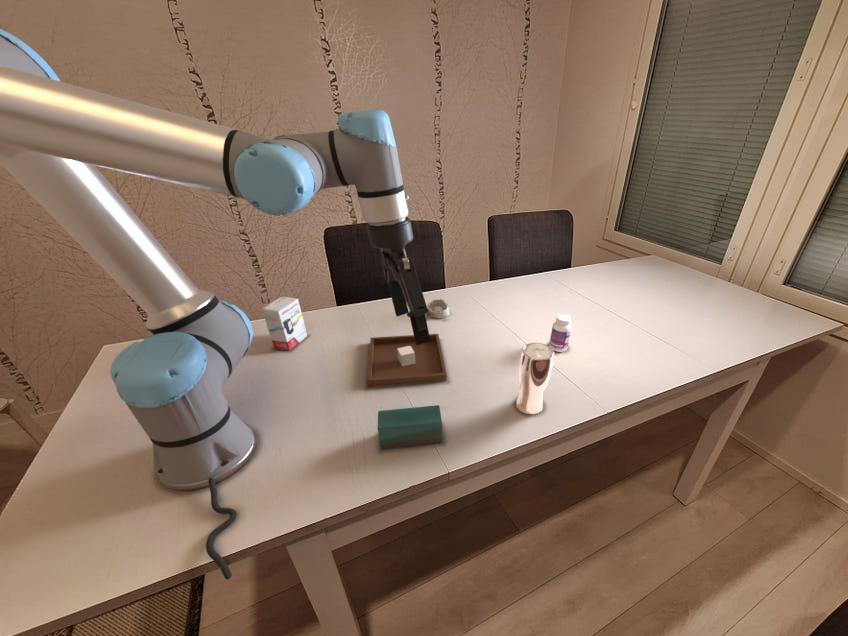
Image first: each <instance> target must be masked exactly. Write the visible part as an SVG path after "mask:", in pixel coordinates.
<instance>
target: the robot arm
mask: <svg viewBox="0 0 848 636" xmlns="http://www.w3.org/2000/svg"><path fill="white" fill-rule="evenodd" d="M337 122H338V128H337V129H334V130H328V131H321V132H320V131H319V132H308V133H298V134H296V133H295V134H288V135H287V134H281V135H277V136H274V137H266V136H261V135H258V134H256V133H255V134H254V133H251V132H247V131H242V130H238V129H237V128H232V127H228V126H224V125H221V124H218V123H214V122H209V121H207V120H202V119H199V118H196V117H192V116H188V115H186V114H181V113H177V112H173V111H169V110H166V109H162V108H159V107H155V106H151V105H148V104H144V103H141V102H136V101H134V100H129V99H125V98H122V97H119V96H114V95H111V94H107V93H103V92H99V91H96V90H92V89H88V88H85V87H82V86H78V85H74V84H70V83H67V82H63V81H61V80H60V79H59V76H58V75H57V74H56V72H55V71H54V70H53V69H52V67H51V66H50V65H49V64H48V63H47V61H46V60H45V59H44V58H43V57H42V56H40V55H39V53H37V51H35V50H34V49H33V48H32V47H30V45H28V44H26V42H24V41H22V39H20V38H18V37H17V36H15V35H13V34H11V33H10V32H8V31H6V30H4V29H2V28H0V166H1V167H3V168H5V169H6V170H7V171H8V172H9V174H11V175H12V177H13V178H14V179H15V180H16V181H17V182H18V183H19V184H20V185H21V186H22V187H23V188H24V189H25V190H26V191H27V192H28V193H29V194H30V195H31V196H32V197H33V198H34V199H35V200H36V201H37V202H38V204H39V205H41V206H42V207H43V209H44V210H45V211H46V212H47V213H48V214H49V215H50V216H51V217H53V219H54V220H55V221H56V222H57V223H58V224H59V226H61V227H62V228H63V229H64V230H65V231H66V232H67V233H68V234H69V236H71V237H72V238H73V239H74V241H75V242H77V244H78V245H80V247H81V248H82V249H83V250H84V251H85V252H87V254H88V255H89V256H90V257H91V258H92V259H93V260H94V261H95V262H96V263H97V264H98V265H99V266H100V267H101V268H102V269H103V270H104V271H105V273H107V274H108V276H110V277H111V278H112V280H114V281H115V282H116V284H118V285H119V287H121V289H122V290H123V291H124V292H125V293H126V294H127V295H128V296H129V297H130V298H131V299H132V300H133V301H134V302H135V303H136V304H137V305H138V306H139V307H140V308H141V309H142V310H143V312H145V313H146V316H147V319H146V324H145V328H146V329H147V330H148V331H149V332H150V333H151V334H152V335H150V336H147V337H144V338H143V340H141V341H135V342H132V343H131V344H130V345H128V346H127V347H125V348H124V349H123V350H122V351H121V352H119V353H118V354H117V356H116V357H115V358H114V359H113V361H112V364H111V367H110V377H111V380H112V382H113V383H114V386H115V388H116V392H117V394H118V396H119V398H120V399H121V400H122V401H123V402H124V403H125V404H126V405H127V407H128V409H129V410H130V411H131V413H132V415H133V416H134V418H135V419H136V421H137V422H138V424H139V425H140V426H141V428H142V429H143V431H144V432H145V434H146V436H148V438H149V440H150V441H151V443H152V453H153V467H154V471H155V474H156V477H157V478H158V479H159V481H160V482H161V483H162V484H163V486H165V487H167V488H169V489H172V490H176V491H194V490H200V489H203V488H207V487H209V491H210V505H211V508H212V510H213V511H214V512H215V513H218V514H224V515H229V517H228V518H227V519H226V520H225V521H224V522H223V523H221V524H220V525H219V526H218V527H216V528H215V529H214V530H213V531H211V533H209V535H208V536H207V539H206V543H205V550H206V554H207V556H209V558H210V559H211V560H212V561H213V562H214V563H215V564H216V565H217V566H218V567H219V569H220V571H221V573H222V575H223V577H224V579H225V580H230V579H231V578H232V576H233V575H232V574H233V573H232V571H231V569H230V567H229V565H228V563H227V562H226V560H225V559H224V558H223V557H222V556H221V555H220V554H219V553H218V552H217V550H215V548H214V541H215V538H216V536H218V535H219V534H220V533H221V532H222V531H224V530H226V528H228V527H230V525H232V524H233V522H234V521H235V520H236V518H237V511H236V510H235V509H234V508H230V507H221V506H220V505H219V503H218V490H217V485H216V484H218V483H220V482H222V481H225V480H226V479H228V478H229V477H231V476H233V475H234V474H235V473H237V472H238V471H240V470H241V469H242V468H243V467H244V466H245V465H246V464H247V463H248V462H249V460H250V459H251V458H252V457H253V455H254V453H255V452H256V451H255V450H256V448H257V447H256V446H257V439H256V436H255V434H254V432H253V430H252V428H251V427H250V426H249V425H248V424H247V423H245V422H244V421H243V420H242V419H241V418H240V417H239V416H238V415H236V414H235V413H234V412H233V411H232V410H231V407H230V406H229V403H228V401H227V398H226V396H225V394H224V392H223V387H224V386H225V384H226V382H227V381H228V379H229V378H230V377H231V375H232V374H233V372H234V370H235V369H236V367H237V366H238V365H239V363H240V362H241V360H242V359H243V358H244V357H245V356H246V355H247V353H248V351H249V349H250V346H251V344H252V341H253V338H254V337H253V336H254V330H253V325H252V323H251V321H250V319H249V318H248V316H247V315H246V313H244V311H243V310H242V309H241V308H239V307H238V306H236V305H235V304H231V303H228V302H227V301H226V300H220V299H218V297H217V296H216V295H215V294H214V293H213V292H212V291H209V290H208V291H207V290H205V289H204V290H203V289H199V288H198V287H197V286H196V285H195V283H194V282H193V281H192V280H191V279H190V277H188V276H187V274H186V273H185V272H184V270H182V269H181V267H180V266H179V265H178V264H177V262H176V261H175V260H174V259H173V257H172V256H171V255H170V254H169V252H167V250H166V249H165V248H164V247H163V245H162V244H161V243H160V242H159V241H158V240H157V238H156V237H155V236H154V235H153V233H152V232H151V230H149V229H148V227H147V226H146V225H145V224H144V223H143V222H142V221H141V219H140V218H139V217H138V216H137V214H136V213H135V212H134V211H133V209H132V208H131V207H130V206H129V205H128V203H126V201H125V200H124V199H123V198H122V196H121V195H120V194H119V193H118V192H117V190H115V188H114V187H113V186H112V184H111V183H110V182H109V181H108V179H106V177H105V176H104V175H103V174H102V173H101V172H100V170H99V169H98V167H100V168H103V169H110V170H114V171H118V172H122V173H127V174H131V175H136V176H140V177H144V178H150V179H153V180H158V181H163V182H167V183H171V184H176V185H180V186H185V187H188V188H189V187H190V188H193V189H198V190H203V191H206V192H210V193H211V192H212V193H215V194H219V195H220V194H221V195H225V196H229V197H233V198H238V199H242V200H245V201H246V202H247V203H248V204H250V205H251V206H253V207H254V209H256V210H258V211H260V212H262V213H264V214H267V215H270V216H277V217H279V216H280V217H284V216H288V215H291V214H293V213H297V212H299V211H300V210H302V209H304V208H305V207H307V206H308V205H309V204H310V203H311V201H312V200H313V198H314V197H315V196H316V195H317V194H318V193H319V192H321V190H326V189H333V188H339V187H348V186H353V185H354V187H355V188H356V194H357V199H358V203H359V206H360V207H359V208H360V210H361V214H362V217H363V221H364V222H366V223H367V224H366V226H365V229H366V231H367V236H368V239H369V243H370V245H371V246H372V248H375V249H377V250H378V249H379V250H380V255H381V263H382V270H383V277H384V278H383V279H385V281H386V284H387V286H388V290H389V293H390V298H391V301H392V305H393V309H394V313H395V316H396V317H401V316H405V315H406V316H407V318H409V320H410V324H411V329H412V333H413V334H412V335H414V338H415V343H416V345H420V344H423V343H426V342H429V341H430V336H429V334H430V332H429V326H428V322H427V316H426V314H428V313H429V311H428V308H427V303H426V300H425V297H424V293H423V290H422V287H421V284H420V281H419V277H418V274H417V271H416V268H415V267H416V266H415V263H414V257H413V256H412V255H410V254H409V252H406V249H405V247H406V245H407V244H410V243H412V242H413V240H414V232H413V227H412V222H411V218H409V217H408V215H409V208H408V204H407V201H409V197H410V195H408V193H405V187H404V182H403V175H402V171H401V164H400V159H399V154H398V147H397V142H396V139H395V136H394V135H395V134H394V131H393V127H392V123H391V118H390V116H389V114H388V113H387V112H386V111H385V110H383V109H379V108H377V109H369V110H360V111H359V110H358V111H351V112H342V113H340V114H338V116H337ZM96 166H97V167H96ZM225 565H227V566H225ZM220 567H221V568H220Z"/></svg>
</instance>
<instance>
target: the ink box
mask: <svg viewBox="0 0 848 636" xmlns="http://www.w3.org/2000/svg"><path fill="white" fill-rule="evenodd" d="M299 301H300V300H299V299H298V298H297V297H296V298H295V297H289V296H280V297H278V298H276V299H275V300H273V301H272V302H270V303H268V304H267V305H265V306H263V307H262V309H261V311H262V314H263V318H264V321H265V324H266V327H267V330H268V333H269V337H270V339H271V343H272V346H273V349H275V350H281V351H288V352H290V351H292V349H294V348H295V347H296V346H297V345H299V344H300V343H301V342H302V341H303V340H304V339H306V338H307V337H308V333H307V329H306V325H305V321H304V317H303V313H302V308H301V306H300V302H299Z"/></svg>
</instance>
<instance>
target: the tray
mask: <svg viewBox="0 0 848 636" xmlns="http://www.w3.org/2000/svg"><path fill="white" fill-rule="evenodd" d="M429 336H430V341H429V342H426V343H423V344H420V345H416V343H415V338H414V334H409V335H393V336H376V337H375V336H374V337H370V339H369V340H370V341H369V351H368V352H369V353H368V366H367V376H366V383H367V387H368V388H374V387H385V386H397V385H411V384H421V383H423V384H424V383H433V382H434V383H435V382H445V381H446V382H447V381H448V380H447V377H448V375H447V374H448V373H447V370H446V369H447V368H446V365H445V364H446V363H445V359H444V355H443V349H442V345H441V340H440V336H439V333H429ZM407 346H411V348H412V349H413V351H414V353H415V364H411V365H407V366H403V367H402V365H401V364H400V362H399V360H398V351H397V348H402V347H407Z"/></svg>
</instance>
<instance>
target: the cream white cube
mask: <svg viewBox="0 0 848 636" xmlns="http://www.w3.org/2000/svg"><path fill="white" fill-rule="evenodd" d="M397 351H398V360H399V362H400V364H401V365H402V367H403V366H407V365H411V364H415V353H414V351H413V349H412V348H411V346H407V347H402V348H397Z"/></svg>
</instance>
